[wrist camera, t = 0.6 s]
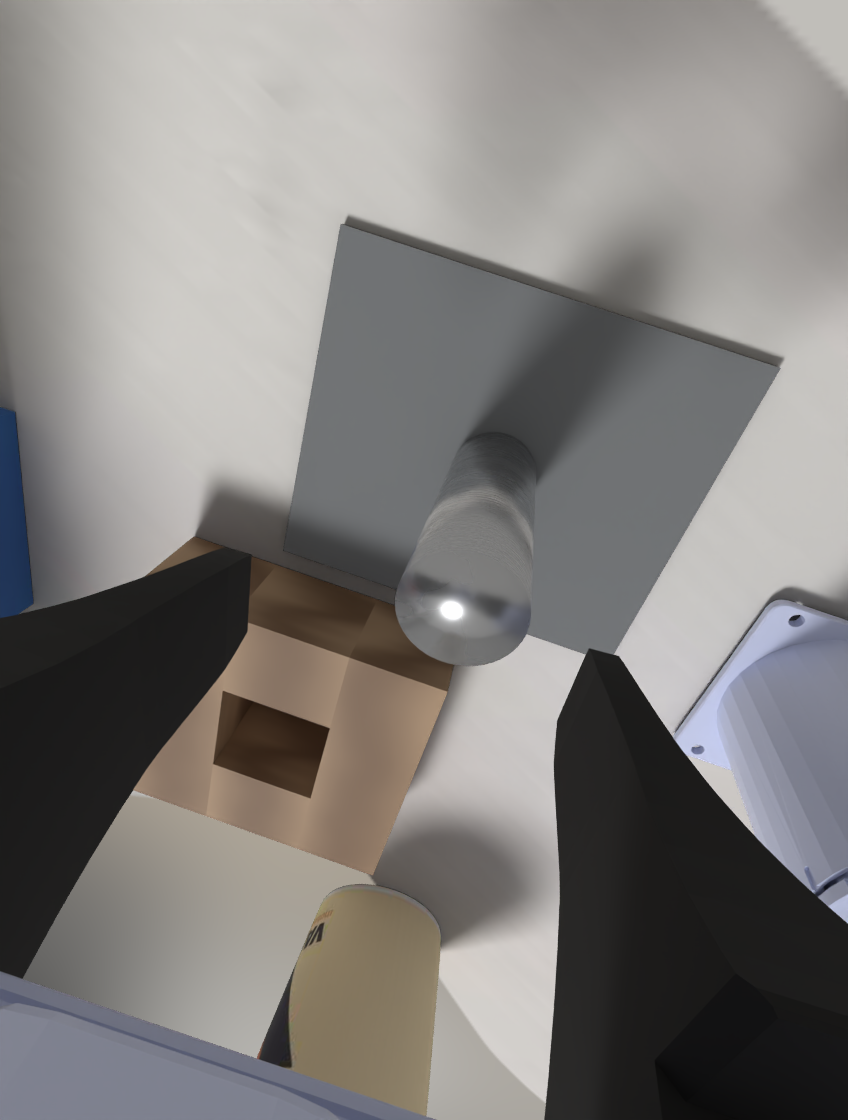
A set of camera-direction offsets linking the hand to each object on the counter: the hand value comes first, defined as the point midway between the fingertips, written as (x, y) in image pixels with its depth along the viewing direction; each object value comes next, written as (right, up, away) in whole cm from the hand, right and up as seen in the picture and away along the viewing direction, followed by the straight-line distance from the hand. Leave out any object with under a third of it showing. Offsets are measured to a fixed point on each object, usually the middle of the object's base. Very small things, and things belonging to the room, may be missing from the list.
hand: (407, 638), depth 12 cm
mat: (+3, +5, +9) cm, 10 cm away
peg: (+3, +5, +8) cm, 10 cm away
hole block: (-5, -4, +15) cm, 17 cm away
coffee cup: (-2, -21, +24) cm, 32 cm away
